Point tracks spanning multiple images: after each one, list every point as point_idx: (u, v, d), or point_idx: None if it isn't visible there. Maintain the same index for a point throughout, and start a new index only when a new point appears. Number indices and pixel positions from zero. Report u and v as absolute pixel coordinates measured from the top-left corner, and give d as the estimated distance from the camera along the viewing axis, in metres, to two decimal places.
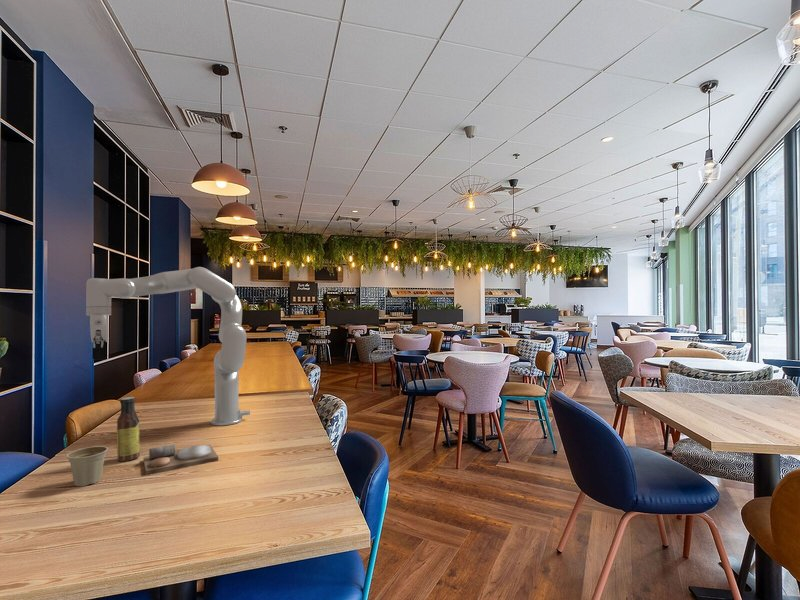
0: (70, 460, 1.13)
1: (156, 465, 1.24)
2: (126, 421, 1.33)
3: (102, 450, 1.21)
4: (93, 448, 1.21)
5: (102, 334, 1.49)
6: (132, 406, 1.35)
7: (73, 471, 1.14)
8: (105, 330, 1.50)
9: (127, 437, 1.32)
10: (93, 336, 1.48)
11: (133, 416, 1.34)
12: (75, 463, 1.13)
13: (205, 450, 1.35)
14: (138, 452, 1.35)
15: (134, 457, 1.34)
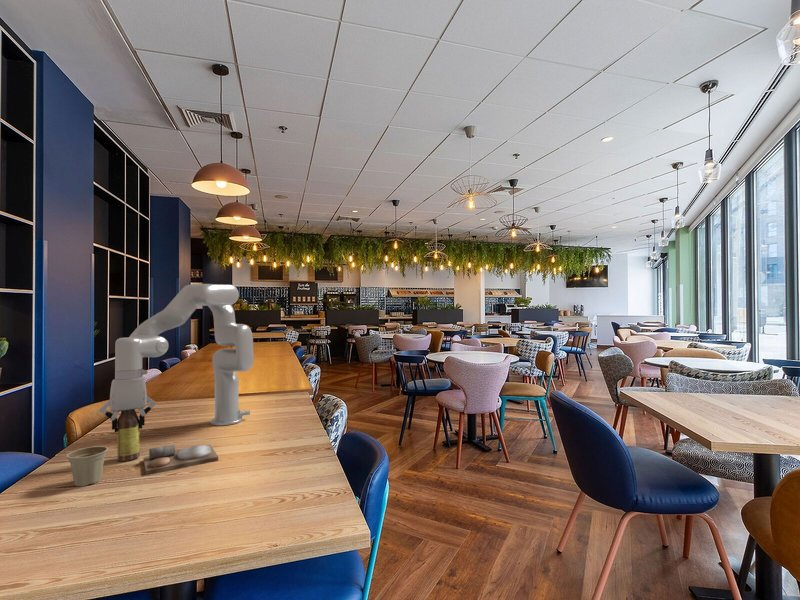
0: (70, 460, 1.13)
1: (156, 465, 1.24)
2: (126, 421, 1.33)
3: (102, 450, 1.21)
4: (93, 448, 1.21)
5: None
6: None
7: (73, 471, 1.14)
8: None
9: (127, 437, 1.32)
10: (146, 400, 1.37)
11: (133, 416, 1.34)
12: (75, 463, 1.13)
13: (205, 450, 1.35)
14: (138, 452, 1.35)
15: (134, 457, 1.34)
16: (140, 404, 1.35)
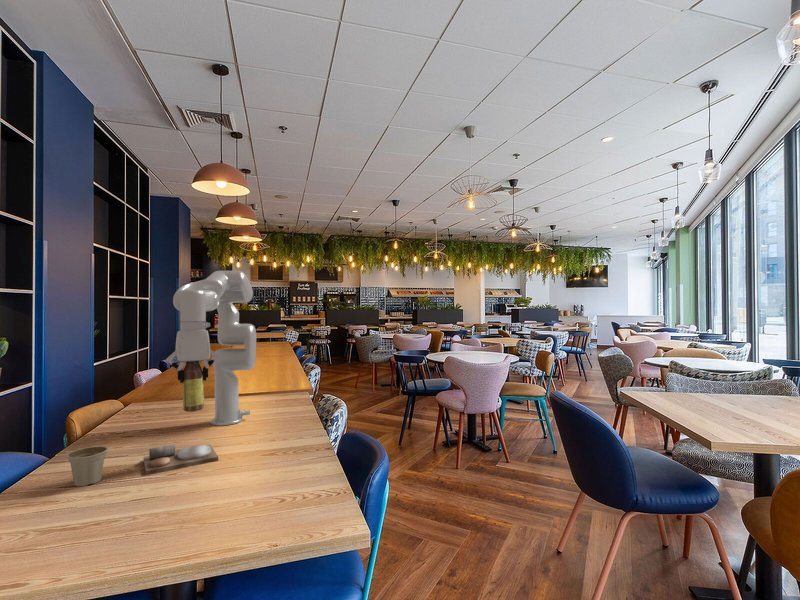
0: (70, 460, 1.13)
1: (156, 465, 1.24)
2: (192, 372, 1.33)
3: (102, 450, 1.21)
4: (93, 448, 1.21)
5: None
6: None
7: (73, 471, 1.14)
8: None
9: (193, 388, 1.33)
10: (210, 353, 1.37)
11: (198, 367, 1.35)
12: (75, 463, 1.13)
13: (205, 450, 1.35)
14: (202, 404, 1.36)
15: (199, 408, 1.34)
16: (204, 356, 1.36)
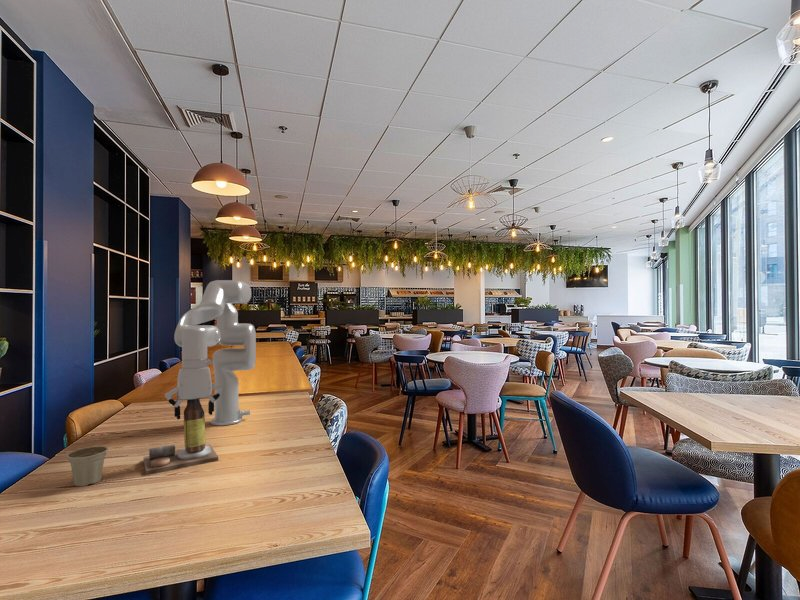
0: (70, 460, 1.13)
1: (156, 465, 1.24)
2: (193, 413, 1.33)
3: (102, 450, 1.21)
4: (93, 448, 1.21)
5: None
6: None
7: (73, 471, 1.14)
8: None
9: (194, 428, 1.33)
10: (211, 390, 1.37)
11: (199, 407, 1.35)
12: (75, 463, 1.13)
13: (205, 450, 1.35)
14: (204, 444, 1.36)
15: (201, 448, 1.34)
16: (206, 393, 1.36)
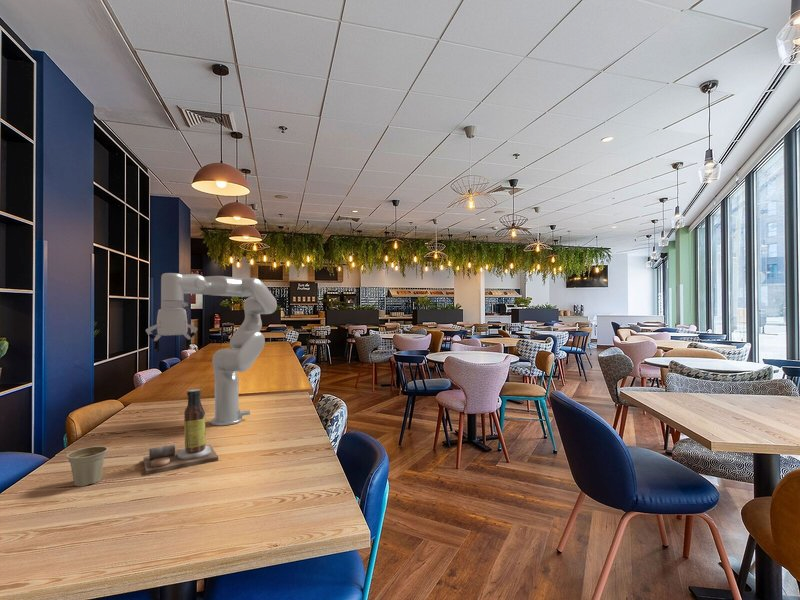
0: (70, 460, 1.13)
1: (156, 465, 1.24)
2: (194, 413, 1.33)
3: (102, 450, 1.21)
4: (93, 448, 1.21)
5: None
6: (198, 398, 1.36)
7: (73, 471, 1.14)
8: None
9: (195, 429, 1.33)
10: (187, 328, 1.58)
11: (199, 408, 1.35)
12: (75, 463, 1.13)
13: (205, 450, 1.35)
14: (204, 444, 1.36)
15: (201, 449, 1.34)
16: (182, 331, 1.56)
